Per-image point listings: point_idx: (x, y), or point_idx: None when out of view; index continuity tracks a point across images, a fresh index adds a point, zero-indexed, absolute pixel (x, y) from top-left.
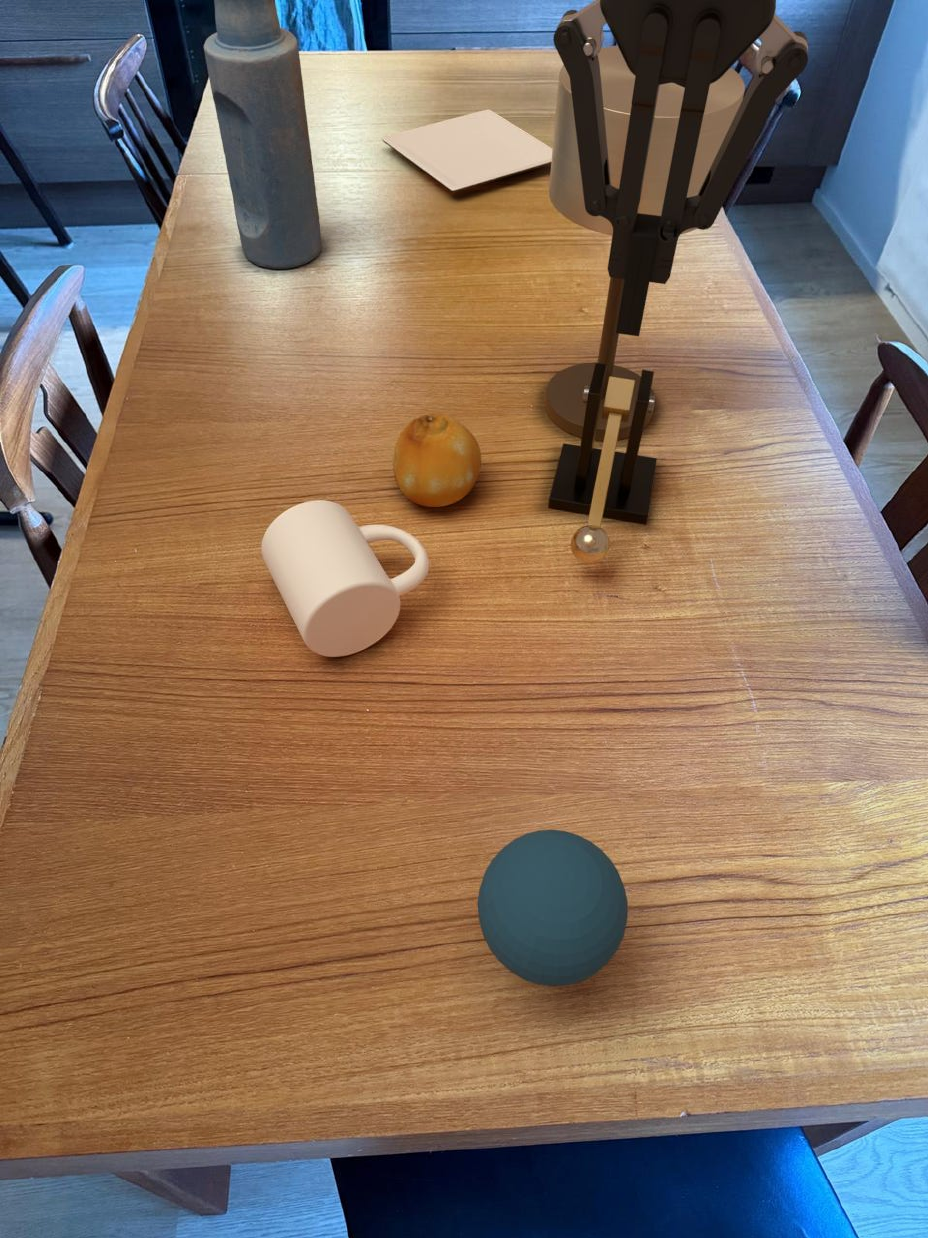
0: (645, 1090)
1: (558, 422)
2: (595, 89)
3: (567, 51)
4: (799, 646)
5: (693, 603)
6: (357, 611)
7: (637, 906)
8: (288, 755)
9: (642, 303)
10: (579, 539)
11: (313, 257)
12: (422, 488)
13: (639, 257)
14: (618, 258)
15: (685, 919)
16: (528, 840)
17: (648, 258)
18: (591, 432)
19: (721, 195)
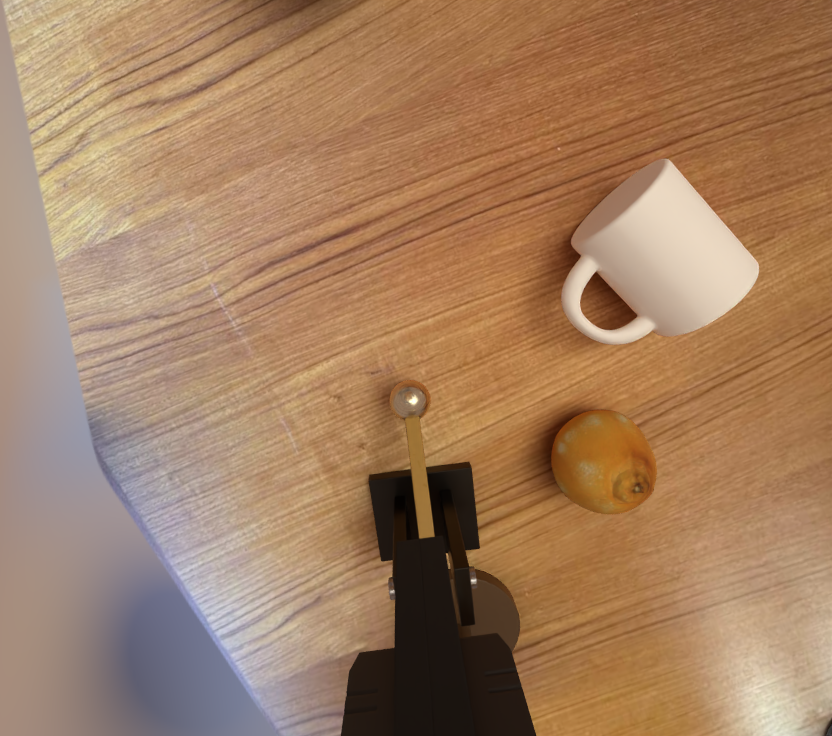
0: None
1: (493, 578)
2: None
3: None
4: (191, 376)
5: (299, 391)
6: (617, 204)
7: (257, 30)
8: (613, 68)
9: (401, 590)
10: (421, 393)
11: (829, 732)
12: (604, 414)
13: (435, 688)
14: (493, 680)
15: (214, 33)
16: None
17: (408, 691)
18: (450, 533)
19: None
